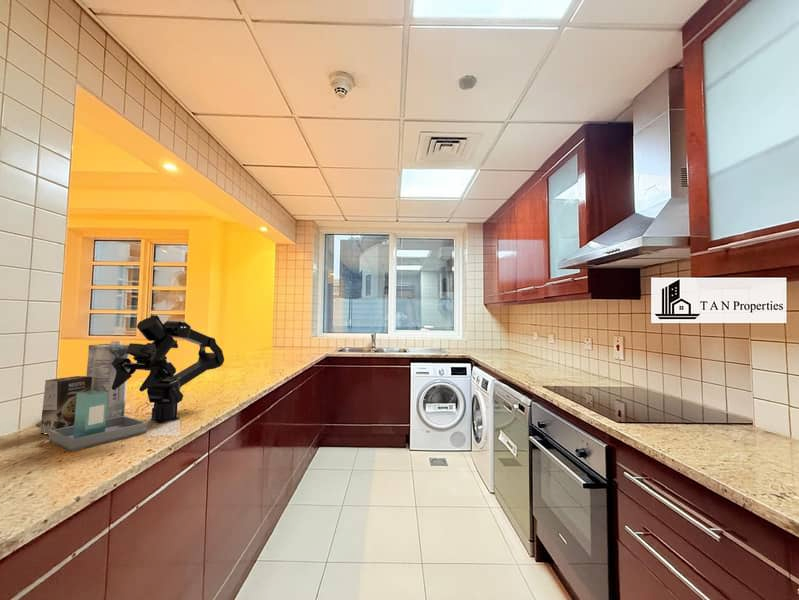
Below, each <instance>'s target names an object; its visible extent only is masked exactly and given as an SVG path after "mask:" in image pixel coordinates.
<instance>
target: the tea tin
mask: <svg viewBox="0 0 799 600" xmlns="http://www.w3.org/2000/svg"><path fill="white" fill-rule="evenodd" d="M107 398H108V392H106V391H100V390H95V391H89V392H82V393H77V397H76V410H75V422H74V435H73V439H75V438H80V437H84V436H89V435H93V434H98V433H102V432H105V424H106V411H107Z"/></svg>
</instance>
